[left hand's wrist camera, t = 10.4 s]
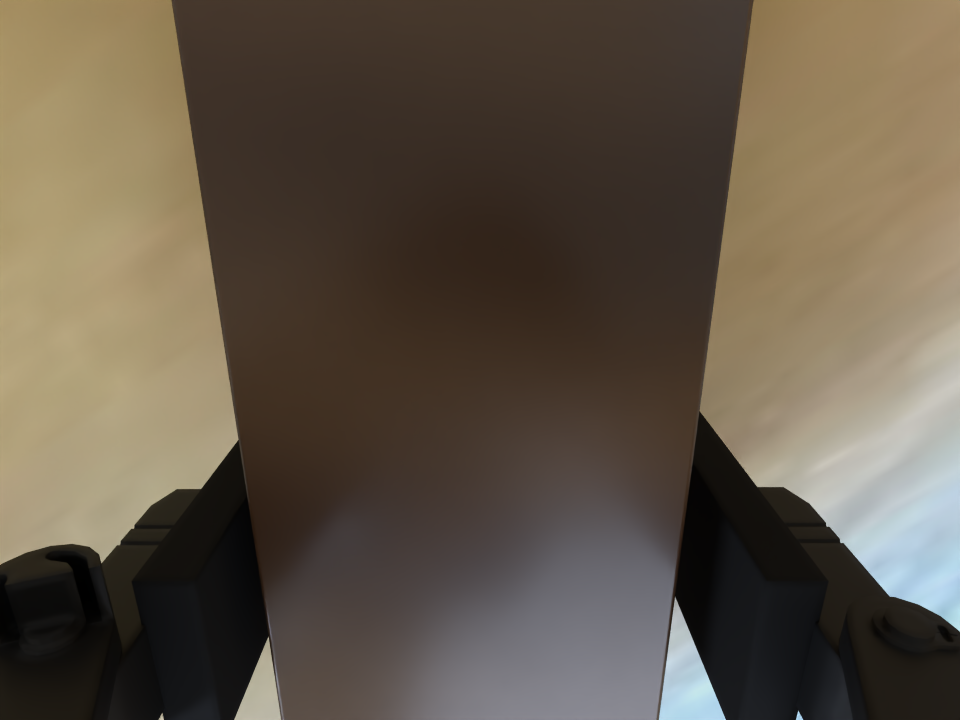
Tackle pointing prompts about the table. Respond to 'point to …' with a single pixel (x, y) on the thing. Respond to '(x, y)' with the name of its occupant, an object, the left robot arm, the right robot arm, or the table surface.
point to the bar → (466, 334)
